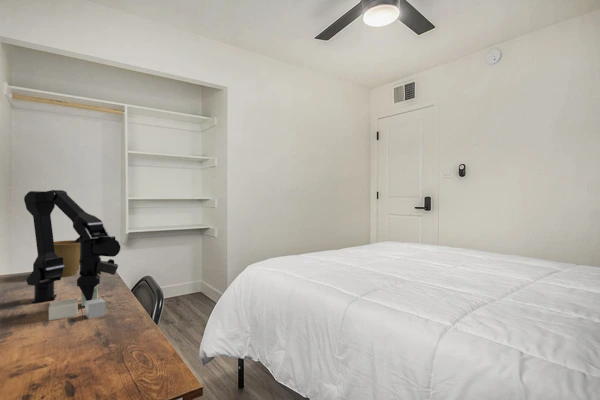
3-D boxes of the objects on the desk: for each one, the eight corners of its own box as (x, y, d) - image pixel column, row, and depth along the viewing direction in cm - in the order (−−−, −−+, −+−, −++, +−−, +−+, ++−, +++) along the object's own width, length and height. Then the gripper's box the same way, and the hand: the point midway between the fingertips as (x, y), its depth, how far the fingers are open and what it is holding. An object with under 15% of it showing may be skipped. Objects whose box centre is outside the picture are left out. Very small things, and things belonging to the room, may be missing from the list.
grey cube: (85, 315, 102) (85, 301, 102) (101, 312, 105) (101, 298, 105) (88, 319, 99) (88, 304, 99) (105, 315, 102) (105, 301, 102)
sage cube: (82, 302, 113) (82, 289, 113) (97, 300, 115) (97, 287, 115) (81, 306, 109) (81, 292, 109) (97, 304, 111) (97, 290, 111)
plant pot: (45, 280, 145) (45, 244, 145) (49, 273, 158) (49, 241, 158) (85, 276, 153) (85, 242, 153) (86, 270, 165) (86, 239, 165)
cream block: (50, 314, 103) (50, 301, 103) (77, 310, 107) (77, 298, 107) (48, 321, 97) (48, 308, 97) (76, 316, 101) (76, 303, 101)
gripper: (117, 257, 108) (117, 304, 108) (116, 249, 124) (116, 290, 124) (76, 260, 102) (76, 309, 102) (81, 252, 118) (81, 294, 118)
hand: (89, 300), depth 112 cm, fingers closed on sage cube, 4 cm apart
